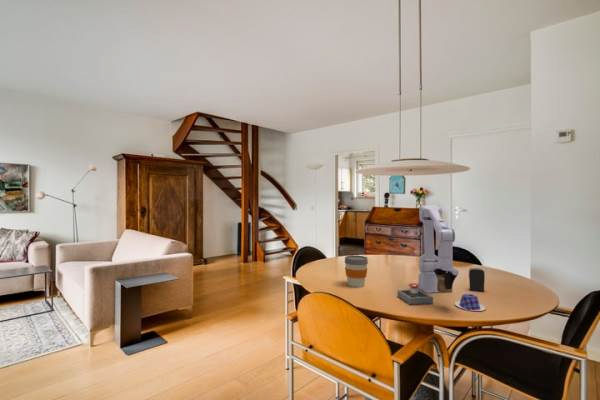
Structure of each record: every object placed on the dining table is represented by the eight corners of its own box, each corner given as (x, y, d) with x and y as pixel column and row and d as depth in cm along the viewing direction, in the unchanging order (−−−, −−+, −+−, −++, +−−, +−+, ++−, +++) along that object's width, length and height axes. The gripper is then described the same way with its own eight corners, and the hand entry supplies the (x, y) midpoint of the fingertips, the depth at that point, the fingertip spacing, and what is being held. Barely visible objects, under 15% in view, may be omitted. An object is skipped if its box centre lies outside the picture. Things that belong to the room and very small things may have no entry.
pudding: (468, 301, 141) (468, 290, 141) (492, 310, 130) (492, 298, 130) (448, 304, 137) (448, 292, 137) (471, 314, 126) (471, 301, 126)
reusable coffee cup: (367, 288, 159) (368, 260, 159) (343, 287, 161) (344, 259, 161) (367, 282, 171) (367, 255, 171) (345, 280, 174) (345, 255, 174)
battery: (483, 290, 157) (483, 268, 157) (484, 292, 153) (484, 269, 153) (468, 288, 159) (468, 267, 159) (469, 290, 156) (469, 268, 156)
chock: (435, 290, 134) (436, 274, 134) (446, 289, 135) (447, 274, 135) (442, 293, 130) (442, 278, 129) (453, 293, 131) (454, 277, 130)
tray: (397, 296, 147) (397, 290, 147) (418, 295, 149) (418, 289, 149) (410, 305, 135) (410, 298, 135) (432, 303, 137) (432, 297, 137)
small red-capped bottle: (415, 297, 144) (415, 282, 144) (421, 300, 140) (421, 285, 140) (407, 297, 143) (407, 283, 143) (412, 300, 139) (412, 286, 139)
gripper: (427, 253, 139) (427, 282, 139) (447, 260, 124) (447, 292, 124) (441, 253, 140) (440, 282, 140) (463, 259, 125) (462, 292, 126)
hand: (445, 287), depth 132 cm, fingers closed on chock, 4 cm apart
